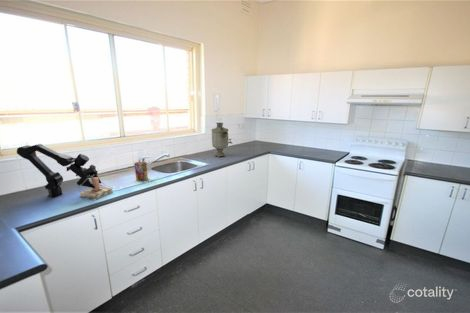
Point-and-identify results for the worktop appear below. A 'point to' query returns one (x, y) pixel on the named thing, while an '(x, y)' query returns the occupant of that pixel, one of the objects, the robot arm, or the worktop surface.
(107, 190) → the pocket block
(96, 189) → the terracotta peg
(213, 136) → the samovar
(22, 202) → the worktop surface
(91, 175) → the robot arm
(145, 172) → the candy box
